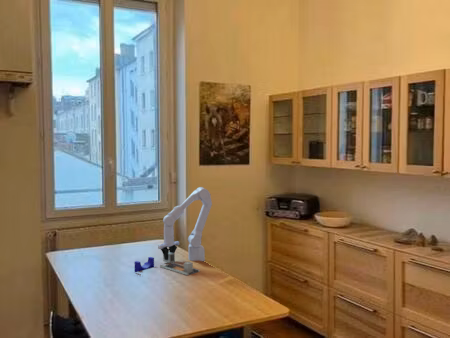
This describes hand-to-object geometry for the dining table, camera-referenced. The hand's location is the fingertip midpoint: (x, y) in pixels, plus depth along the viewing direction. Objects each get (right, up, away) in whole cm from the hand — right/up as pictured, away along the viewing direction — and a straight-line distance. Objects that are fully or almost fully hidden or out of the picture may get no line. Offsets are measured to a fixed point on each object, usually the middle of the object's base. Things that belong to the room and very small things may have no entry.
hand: (168, 259), depth 271 cm
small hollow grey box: (+13, -3, -21) cm, 25 cm away
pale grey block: (0, -2, 0) cm, 2 cm away
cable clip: (-13, -4, -12) cm, 18 cm away
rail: (+8, -4, -16) cm, 19 cm away
